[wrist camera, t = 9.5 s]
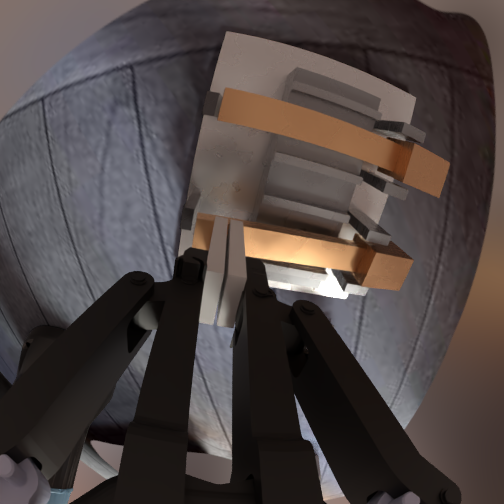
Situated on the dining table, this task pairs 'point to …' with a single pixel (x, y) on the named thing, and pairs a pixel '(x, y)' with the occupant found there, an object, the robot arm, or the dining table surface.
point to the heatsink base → (296, 156)
